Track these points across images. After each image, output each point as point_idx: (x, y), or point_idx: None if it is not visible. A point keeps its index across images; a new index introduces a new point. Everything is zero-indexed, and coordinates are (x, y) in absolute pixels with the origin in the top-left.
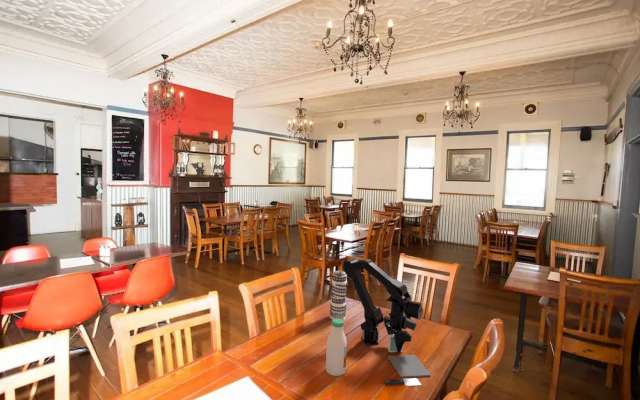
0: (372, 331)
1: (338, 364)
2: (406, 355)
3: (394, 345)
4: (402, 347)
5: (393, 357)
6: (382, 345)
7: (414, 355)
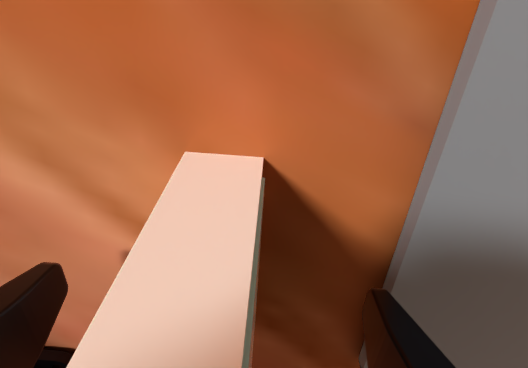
0: None
1: None
2: (433, 178)
3: (251, 362)
4: (256, 206)
5: None
6: None
7: (508, 17)
